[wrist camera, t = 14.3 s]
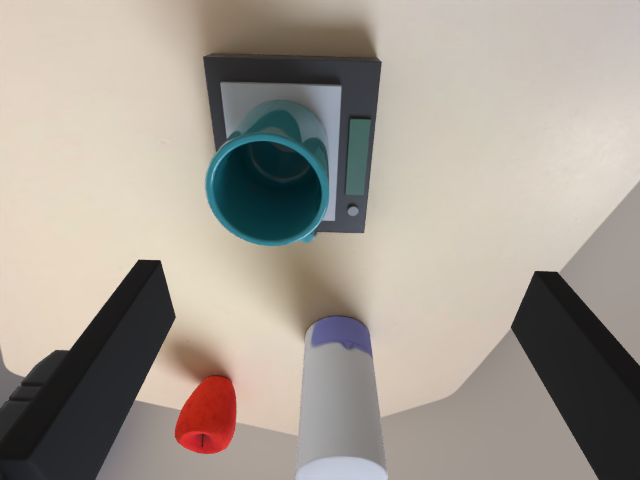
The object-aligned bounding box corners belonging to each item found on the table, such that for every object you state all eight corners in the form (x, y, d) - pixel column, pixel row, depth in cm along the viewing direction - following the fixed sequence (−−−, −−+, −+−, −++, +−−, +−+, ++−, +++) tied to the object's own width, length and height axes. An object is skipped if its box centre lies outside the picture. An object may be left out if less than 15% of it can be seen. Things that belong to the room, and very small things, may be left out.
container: (299, 354, 58) (287, 495, 41) (313, 309, 52) (306, 451, 35) (358, 364, 59) (371, 507, 42) (378, 322, 53) (401, 465, 37)
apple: (196, 397, 64) (174, 461, 55) (189, 365, 60) (164, 429, 51) (245, 399, 65) (231, 463, 55) (242, 368, 60) (227, 432, 51)
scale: (211, 53, 35) (200, 57, 31) (377, 57, 35) (382, 62, 31) (232, 217, 44) (224, 233, 41) (362, 220, 44) (364, 237, 41)
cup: (277, 222, 40) (261, 287, 31) (219, 121, 34) (179, 164, 25) (353, 193, 38) (361, 253, 29) (305, 81, 32) (296, 110, 23)
